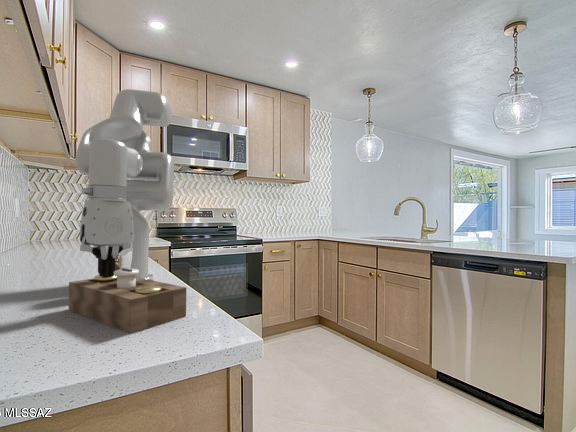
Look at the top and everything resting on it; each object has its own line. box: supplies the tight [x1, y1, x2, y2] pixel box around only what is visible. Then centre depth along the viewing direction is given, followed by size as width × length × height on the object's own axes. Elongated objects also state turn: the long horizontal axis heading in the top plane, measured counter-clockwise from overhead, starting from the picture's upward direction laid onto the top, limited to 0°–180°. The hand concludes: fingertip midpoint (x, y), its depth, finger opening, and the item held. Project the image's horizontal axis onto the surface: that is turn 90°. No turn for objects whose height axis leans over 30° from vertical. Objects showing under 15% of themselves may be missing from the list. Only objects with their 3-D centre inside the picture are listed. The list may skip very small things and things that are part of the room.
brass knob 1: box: [93, 274, 117, 284], centre depth 73 cm, size 5×5×6 cm
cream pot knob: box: [114, 268, 139, 289], centre depth 69 cm, size 5×5×6 cm
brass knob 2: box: [135, 286, 162, 295], centre depth 64 cm, size 5×5×6 cm
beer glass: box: [106, 243, 133, 271], centre depth 85 cm, size 7×7×15 cm
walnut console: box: [68, 277, 187, 334], centre depth 69 cm, size 24×12×6 cm, turn 57°
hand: (106, 276), depth 73 cm, fingers closed
